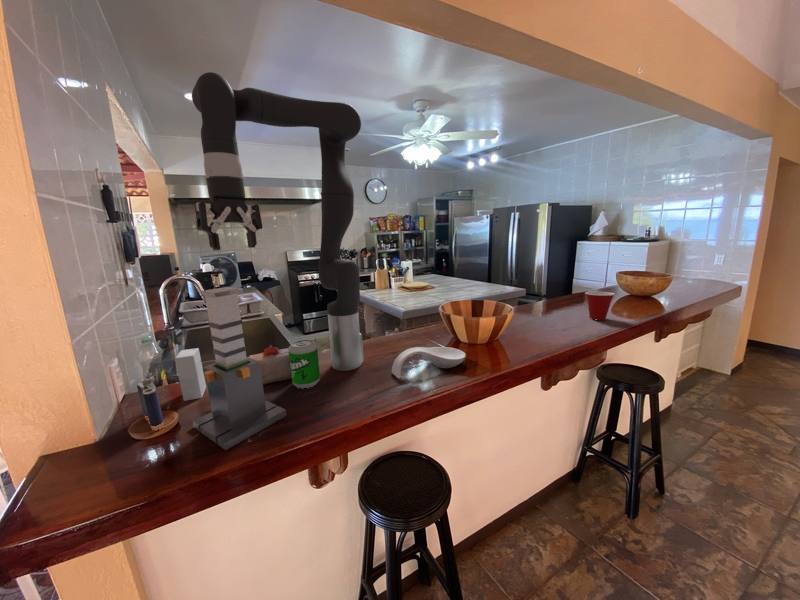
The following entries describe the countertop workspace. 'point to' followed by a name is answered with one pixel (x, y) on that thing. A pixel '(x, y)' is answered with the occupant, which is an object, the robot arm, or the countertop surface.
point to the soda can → (304, 363)
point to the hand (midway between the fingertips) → (235, 248)
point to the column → (226, 327)
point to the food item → (274, 364)
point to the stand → (236, 405)
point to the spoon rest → (430, 357)
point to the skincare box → (190, 374)
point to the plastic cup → (599, 304)
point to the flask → (150, 402)
